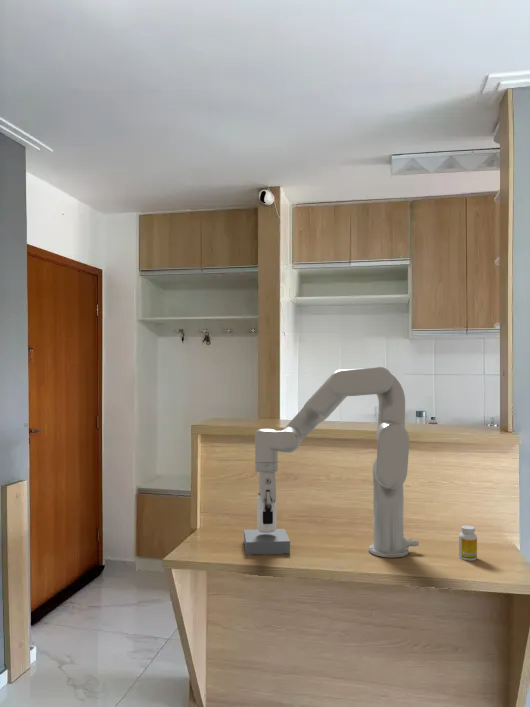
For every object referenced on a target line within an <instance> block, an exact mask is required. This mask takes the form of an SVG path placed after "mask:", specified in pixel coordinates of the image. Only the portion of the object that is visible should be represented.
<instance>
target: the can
mask: <svg viewBox="0 0 530 707" xmlns="http://www.w3.org/2000/svg"><path fill="white" fill-rule="evenodd" d="M257 494H258V495H257V497H256V530H258V531H260V532H265V533H268V532H274V531H275V530H276V529H277V501H276V502H275V503H274V502H273V501H272V511H273V523H272V524H263V511H264V507H263V503H262V502H261V497H260V493H259V492H258V493H257ZM265 502H267V500H265ZM266 505H267V504H265V506H266Z"/></svg>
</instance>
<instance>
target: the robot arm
mask: <svg viewBox="0 0 530 707" xmlns="http://www.w3.org/2000/svg"><path fill="white" fill-rule="evenodd" d="M370 395H376V396H377V399H378V417H377V426H376V427H377V428H376V432H375V433H376V434H375V437H376V438H375V439H376V441H377V450H376V452H377V453H376V458H375V459H374V461H373V465H372V486H373V488H372V490H373V492H372V493H373V502H372V503H373V510H372V512H373V543H372V544H370V545H369V546H368V551H369V553H370V554H373V555H374V556H377V557H382V558H389V559H390V558H391V559H393V558H394V559H395V558H403V557H406V556H408V554H409V548H410V547H419V545H420V544H419V540H418V539H415V540H414V539H412V538H405V537H404V534H405V533H404V502H405V501H404V483H405V481H406V480H407V476H408V469H409V466H408V464H409V453H410V452H409V450H410V449H409V448H410V437H409V436H410V435H409V433H408V431H407V429H406V427H405V426H406V425H405V424H406V395H405V391H404V389H403V386H402V385H401V383H400V382H399V380H398V379H397V377H396V376H394V375H393V373H392V372H390V370H389V369H387V368H385V367H383V366H373V367H365V368H363V367H362V368H352V369H351V368H349V369H344V368H343V369H337V370H335V371H334V372H332V373H331V375H329V377H327V379H326V380H325V381H324V382H323V383H322V385H321V386H319V388H318V389H317V390H316V391H315V392H314V393H313V394H312V396H311V397H310V398H309V399H308V400H306V402H305V404H304V405H303V407H301V409H300V411H298V413H297V414H296V415H295V416H294V417H293V418H292V419H291V420H290V421H289V422H288V424H287V425H286V426H285V427H284V428H283V429H282V430H276V429H274V428H259V429H257V430H256V431H255V433H254V450H255V451H254V454H255V456H254V457H255V458H254V462H255V463H254V466H255V467H254V468H255V469H254V470H255V472H256V473H258V490H259V492H258V493H260V497H261V502H262V503H263V507H264V511H263V524H272V523H273V511H272V501H273V502H274V503H275V502H276V503H277V485H276V484H277V482H276V472H278V471H279V466H278V465H279V463H278V462H279V460H278V459H279V454H278V452H280V453H286V454H288V453H289V454H291V453H294V452H295V451H297V450H298V449H299V447H300V445H301V443H302V442H303V441H304V440H305V439H306V437H307V436H308V435H310V433H311V432H312V431H313V430H315V428H316V427H317V426H319V424H321V423H323V422H324V421H326V420H327V419H328V418H329V417H330V416H331V414H333V412H334V411H335V410H336V409H337V407H339V406H340V405H341V403H343V401H345V399H346V398H347V397H360V396H370ZM265 500H267V502H265ZM265 504H267V505H266V506H265Z"/></svg>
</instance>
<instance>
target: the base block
mask: <svg viewBox="0 0 530 707" xmlns="http://www.w3.org/2000/svg"><path fill="white" fill-rule="evenodd" d="M243 544H245V545H244V549H245V550H244V551H245V554H246V556H253V555H252V554H265V555H284V554H283V553H290V554H291V541H290V538H289V535H288V534H287V531H286V529H285V528H276V530H275V531H274V532H268V533H265V532H260V531H258V530H257V529H244V530H243Z"/></svg>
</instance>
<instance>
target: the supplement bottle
mask: <svg viewBox="0 0 530 707" xmlns="http://www.w3.org/2000/svg"><path fill="white" fill-rule="evenodd" d="M460 529H461V530H460V531H461V532H460V533H459V534H458V557H459V558H460V559H461V560H463V561H464V560H465V561H472V562H473V561H476V560H477V558H478V537H477V534H476V533H475V532H476V529H475V526H471V525H462V526H461V528H460Z"/></svg>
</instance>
